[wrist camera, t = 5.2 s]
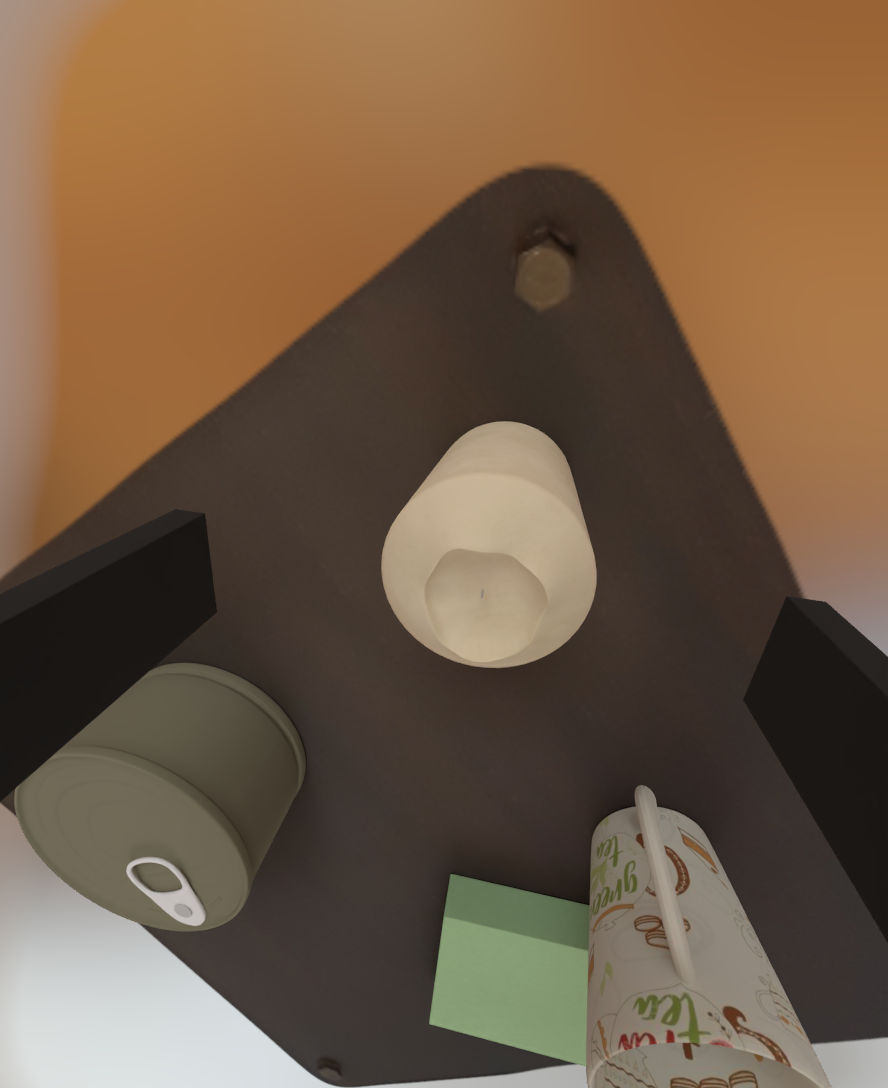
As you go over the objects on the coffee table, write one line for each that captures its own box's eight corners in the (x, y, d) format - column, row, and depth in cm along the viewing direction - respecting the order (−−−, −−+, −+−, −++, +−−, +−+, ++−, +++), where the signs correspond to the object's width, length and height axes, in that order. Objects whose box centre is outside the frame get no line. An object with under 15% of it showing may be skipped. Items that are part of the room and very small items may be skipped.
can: (236, 633, 26) (140, 727, 19) (345, 795, 29) (294, 920, 23) (86, 689, 29) (-35, 784, 23) (199, 827, 33) (120, 942, 27)
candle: (421, 440, 20) (328, 524, 11) (556, 402, 19) (577, 463, 10) (459, 559, 22) (405, 716, 13) (583, 533, 20) (624, 689, 11)
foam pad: (650, 918, 29) (660, 968, 26) (606, 1023, 34) (611, 1073, 31) (450, 872, 30) (443, 916, 28) (435, 979, 35) (429, 1024, 33)
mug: (588, 897, 29) (613, 1153, 20) (533, 735, 25) (532, 962, 16) (742, 892, 27) (849, 1177, 18) (708, 712, 23) (825, 961, 14)
